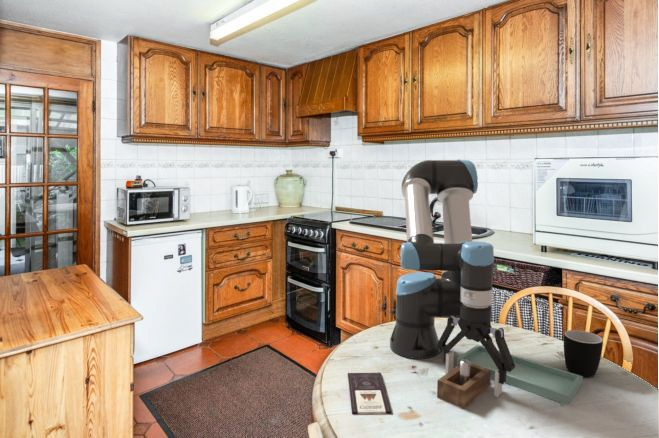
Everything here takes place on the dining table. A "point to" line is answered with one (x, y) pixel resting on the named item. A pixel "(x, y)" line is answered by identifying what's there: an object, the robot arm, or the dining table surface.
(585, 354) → the mug
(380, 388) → the chocolate bar
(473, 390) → the wooden rectangular frame
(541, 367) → the tray
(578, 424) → the dining table surface
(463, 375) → the silver cylindrical piece
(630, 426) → the dining table surface
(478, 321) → the robot arm
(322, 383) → the dining table surface
